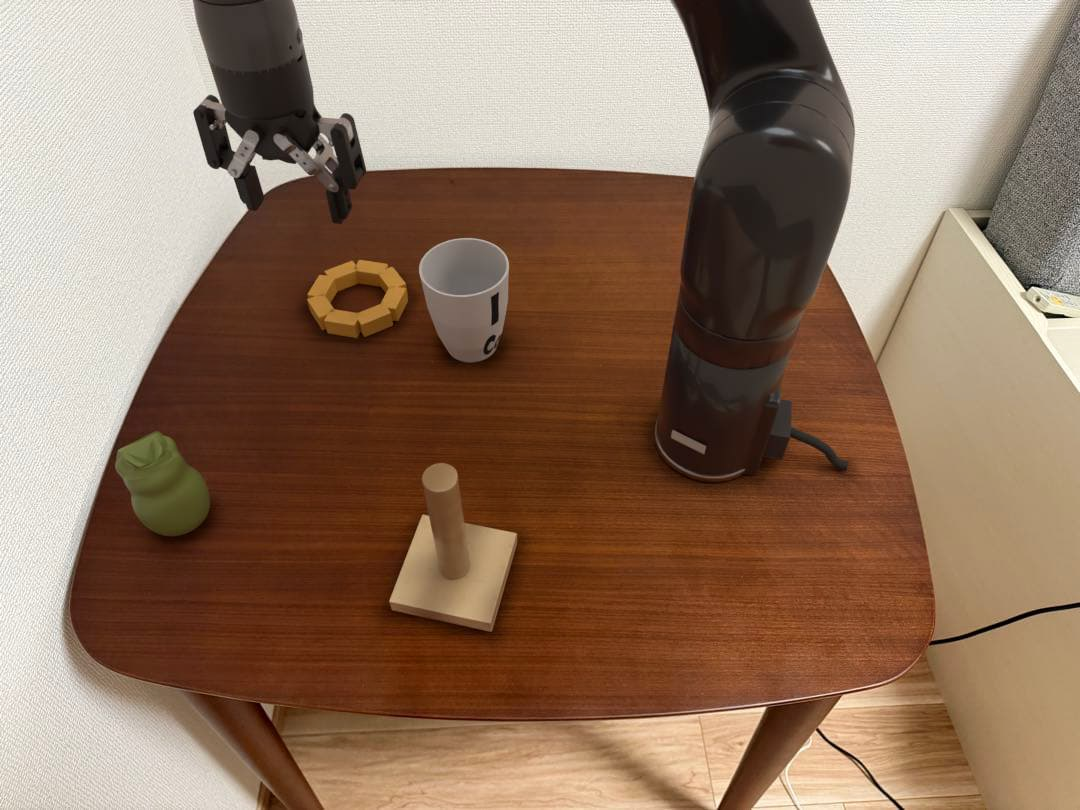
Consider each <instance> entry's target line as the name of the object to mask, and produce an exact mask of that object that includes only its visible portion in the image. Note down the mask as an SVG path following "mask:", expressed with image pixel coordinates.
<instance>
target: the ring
mask: <svg viewBox="0 0 1080 810" xmlns="http://www.w3.org/2000/svg"><path fill="white" fill-rule="evenodd" d="M358 284H360V285H365V286H371V287H379V288H381V289H382V290H383V292H384V293H385V294H384V297H383V298H382V300H381V303H379V304H376V305H374V306H372V307H369V308H366V309H364V310H362V311H359V312H354V311H347V310H342V309H341V310H340V309H335V308H334V307H333V305H332V301H333V300H334V298H335V296H336V295H337V293H338V292H340V291H343V290H346V289H348V288H350V287H353V286H356V285H358ZM306 302H307V304H308V308H309V312H310V313H311V315H312V317H313V318H314V320H315V321H316V323H317V324H318V326H319V327H320V329H321V331H324V330H326V333H327V334H329V335H336V336H341V337H342V336H343V337H348V338H352V339H353V338H354V339H358V338H359V336H360V334H361V335H362V336H363V337H364V338H366V337H369V336H371V335H374V334H376V333H379V332H381V331H384V330H386V329H388V328H390V327H393V326H394V322H399V321H400V318H401V317H402V314H403V312H404V310H405V308H406V307H407V305H408V302H409V294H408V289H407V283H406V282H405V281H404V279H403V278H402V276H400V274H399V273H398V271H397V270H396V269H395V268H394V266H390V267H389V265H388V263H384V262H377V261H370V260H365V259H364V260H363V259H358V261H357V263H355V262H354V261H353V260H350V261H348V262H344V263H342V264H338V265H336V266H334V267H331V268H329V269H326V270H324V274H319V275H318V276H317V278H316V280H315V281H314V283H313V285H312V286H311V287H310V289H309V291H308V292H307V299H306Z"/></svg>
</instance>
